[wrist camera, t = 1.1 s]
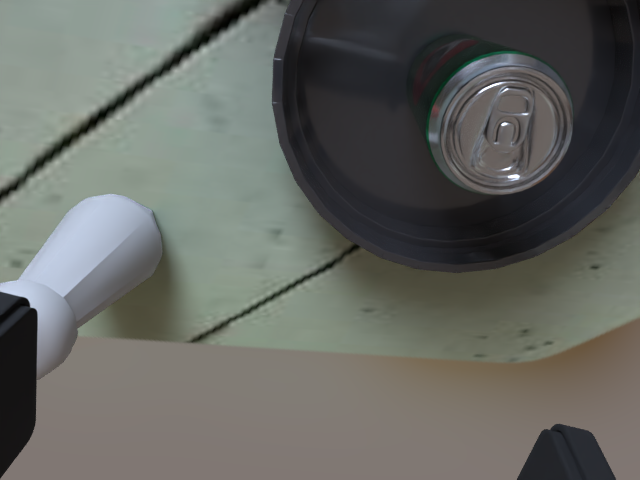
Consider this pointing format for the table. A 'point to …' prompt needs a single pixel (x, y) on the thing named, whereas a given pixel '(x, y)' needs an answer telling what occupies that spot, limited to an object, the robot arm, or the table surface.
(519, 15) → the pan
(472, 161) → the soda can
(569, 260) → the table surface
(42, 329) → the salt shaker
